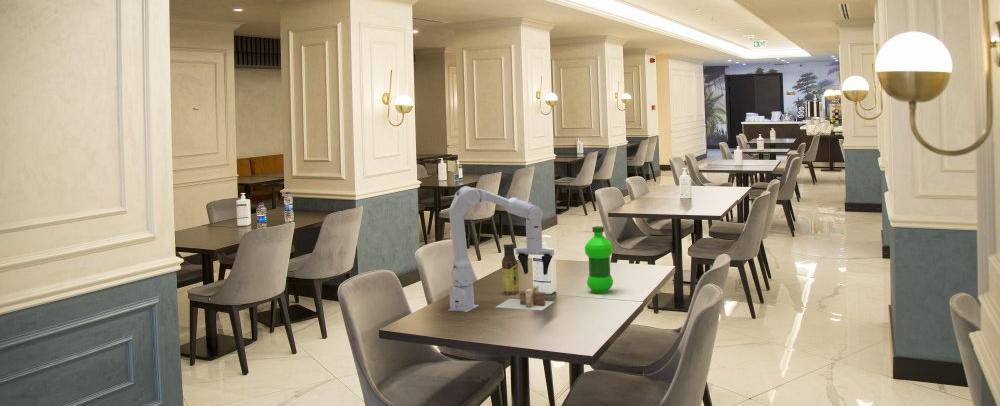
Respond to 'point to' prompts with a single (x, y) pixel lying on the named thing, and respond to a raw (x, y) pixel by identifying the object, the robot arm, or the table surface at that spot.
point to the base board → (516, 305)
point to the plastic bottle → (599, 261)
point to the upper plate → (531, 295)
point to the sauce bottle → (510, 271)
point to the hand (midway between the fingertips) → (535, 273)
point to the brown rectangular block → (537, 298)
